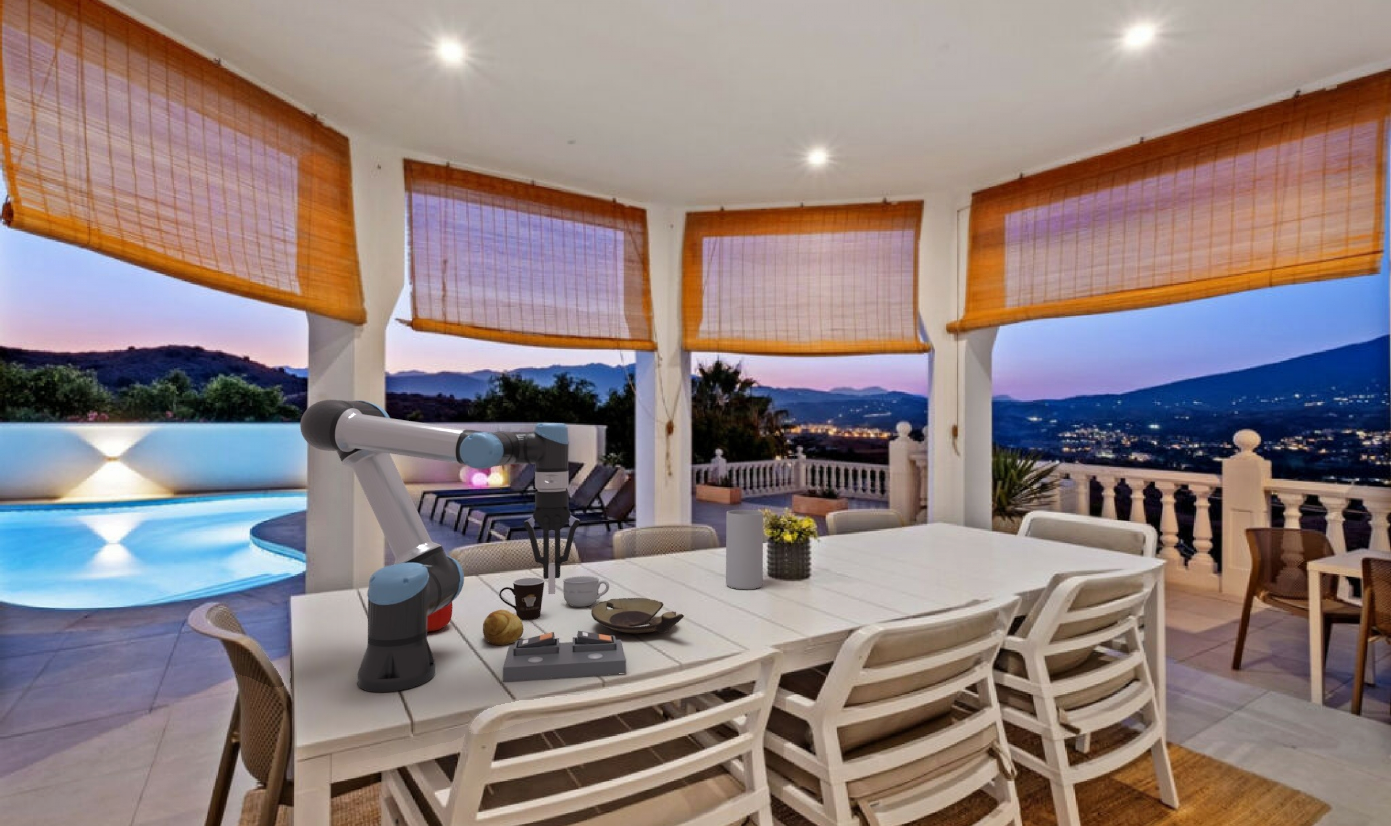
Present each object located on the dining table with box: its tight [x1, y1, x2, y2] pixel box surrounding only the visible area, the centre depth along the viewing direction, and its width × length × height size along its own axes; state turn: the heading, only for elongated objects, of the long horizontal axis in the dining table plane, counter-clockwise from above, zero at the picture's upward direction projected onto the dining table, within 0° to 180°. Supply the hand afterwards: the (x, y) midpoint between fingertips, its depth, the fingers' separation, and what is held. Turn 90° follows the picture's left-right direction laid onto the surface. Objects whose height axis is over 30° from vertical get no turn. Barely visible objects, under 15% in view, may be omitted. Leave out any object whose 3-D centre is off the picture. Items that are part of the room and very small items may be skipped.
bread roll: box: [482, 609, 524, 646], centre depth 166 cm, size 13×10×8 cm
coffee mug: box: [498, 577, 545, 621], centre depth 185 cm, size 12×9×10 cm
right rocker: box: [576, 630, 613, 644], centre depth 152 cm, size 8×4×1 cm, turn 100°
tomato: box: [427, 601, 453, 633], centre depth 173 cm, size 14×13×10 cm
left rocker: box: [518, 631, 556, 648], centre depth 150 cm, size 8×4×1 cm, turn 101°
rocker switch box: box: [502, 635, 627, 683], centre depth 148 cm, size 26×14×4 cm, turn 101°
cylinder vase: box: [725, 509, 764, 590], centre depth 223 cm, size 12×12×25 cm
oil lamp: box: [590, 597, 685, 634], centre depth 174 cm, size 22×30×8 cm
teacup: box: [562, 575, 610, 608], centre depth 198 cm, size 14×11×8 cm
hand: (551, 592), depth 150 cm, fingers closed
